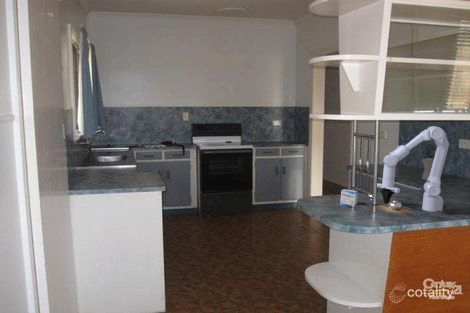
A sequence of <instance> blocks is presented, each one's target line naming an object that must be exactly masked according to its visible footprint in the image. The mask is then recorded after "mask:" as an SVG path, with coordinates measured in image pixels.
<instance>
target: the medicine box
mask: <svg viewBox="0 0 470 313" xmlns="http://www.w3.org/2000/svg"><path fill="white" fill-rule="evenodd" d="M358 199H359V190H354V189H353V190H352V189H346V188H344V189H341V192H340V203H339V206H340V207H345V208H351V209H354V207H355V206H357V205H358Z"/></svg>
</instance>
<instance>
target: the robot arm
mask: <svg viewBox="0 0 470 313" xmlns="http://www.w3.org/2000/svg"><path fill="white" fill-rule="evenodd" d="M431 140H432V141H433V143H434V144H435V146H436V150H435V152H434V157H433V159H434V160H433V164H432V168H431V172H430V176H429V177H428V179H427V180H426V182H424V184H423V190H424V192H423V194H422V195H423V198H422V206H421V207H422V208H421V209H422V210H423V211H426V212H432V213H433V212H434V213H435V212H441V213H442V212H443V206H444V200H443V199H444V198H443V197H442V196H441V195H440V194H441V191H442V188H441V178H442V175H443V174H442V173H443V170H444V165H445V162H446V158H447V154H448V151H449V146H450V143H449V140H448V137H447V133H446V132H445V130H443V128H442V127H438V126H436V125H435V126H434V125H432V126H429V127H427V129H424V130H423V131H420V133H419V134H418V135H416V136H415V137H414V138H412V139H411V140H410V141H409V142H408V143H406V144H401V145H397V148H396V149H394V150H393V151H390V152H389V154H387V155H385V156H384V158H383V159H382V160H383V161H382V162H383V163H384V164H383V172H382V182H381V183H376V184H377V187H376V188H378V189H379V188H380V193H381V196H382V199H383V204H389V202H390V201H391V198H392V196H393V195H394V194H395V193H397V194H399V193H400V192H401V191H400V190H401V189H400V188H398V187H395V178H396V177H395V175H396V165H397V164H398V162H400V161H401V160H403V159H404V158H405V157H407V156H408V155H409V154H410V151H411V150H412V149H413V148H415V147H417V146H418V145H419V144H420V143H421V144H422V142H424V141H425V142H426V141H431Z"/></svg>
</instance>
